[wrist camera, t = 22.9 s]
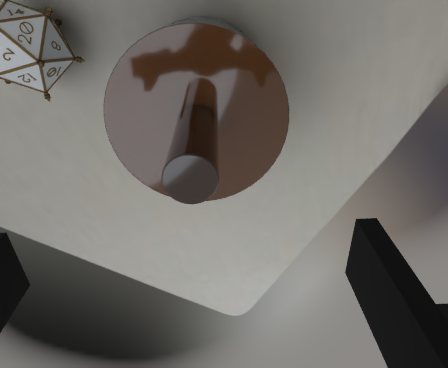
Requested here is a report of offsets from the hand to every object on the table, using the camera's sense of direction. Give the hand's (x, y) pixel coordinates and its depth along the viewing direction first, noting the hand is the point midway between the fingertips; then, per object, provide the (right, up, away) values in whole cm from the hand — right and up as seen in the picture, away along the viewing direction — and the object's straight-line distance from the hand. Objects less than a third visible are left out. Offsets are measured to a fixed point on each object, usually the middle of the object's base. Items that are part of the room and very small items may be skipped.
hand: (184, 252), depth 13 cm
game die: (-17, +17, +22) cm, 33 cm away
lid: (-1, +8, +14) cm, 16 cm away
